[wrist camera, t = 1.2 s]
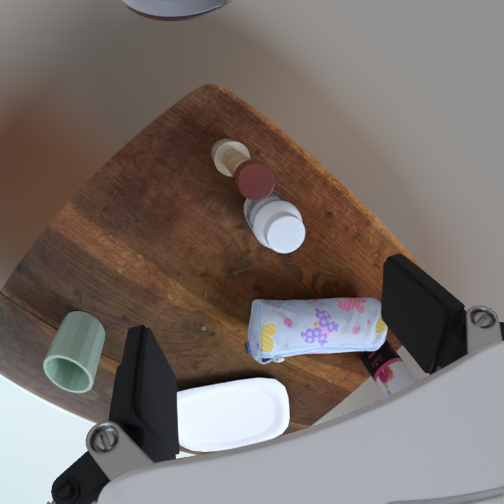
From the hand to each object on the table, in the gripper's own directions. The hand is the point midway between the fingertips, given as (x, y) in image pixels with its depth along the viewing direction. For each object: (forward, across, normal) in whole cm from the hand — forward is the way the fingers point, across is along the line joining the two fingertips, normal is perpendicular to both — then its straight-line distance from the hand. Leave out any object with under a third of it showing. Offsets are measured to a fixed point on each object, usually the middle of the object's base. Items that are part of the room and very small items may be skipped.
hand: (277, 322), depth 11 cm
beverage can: (+27, -22, +39) cm, 53 cm away
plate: (+27, +10, +46) cm, 54 cm away
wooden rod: (+28, -2, -3) cm, 28 cm away
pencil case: (+28, -9, +23) cm, 37 cm away
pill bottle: (+28, -5, +5) cm, 29 cm away
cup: (+27, +26, +17) cm, 41 cm away
